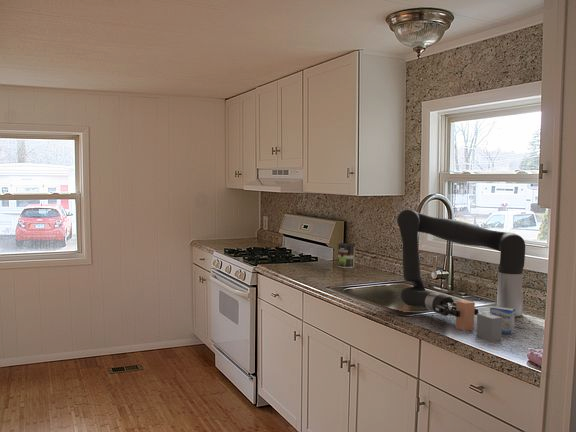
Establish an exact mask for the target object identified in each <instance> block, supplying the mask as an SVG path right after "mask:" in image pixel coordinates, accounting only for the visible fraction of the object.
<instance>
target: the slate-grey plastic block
mask: <svg viewBox="0 0 576 432" xmlns="http://www.w3.org/2000/svg"><path fill="white" fill-rule="evenodd" d="M502 334H503V333H502V317H499V316H496V315H493V314H490V312H483V313H478V314H477V315H476V337H478V338H480V339H483V340H485V341H488V342H491V343H492V342H499V341H502V337H503V335H502Z"/></svg>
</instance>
